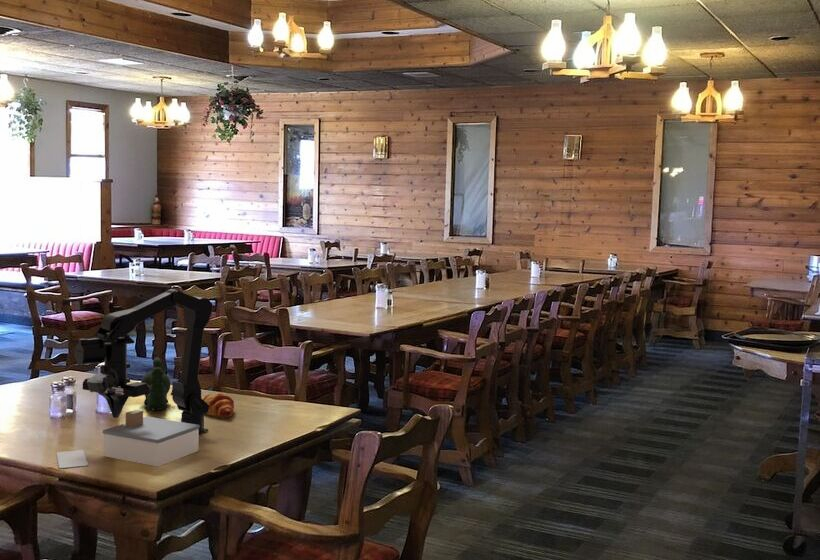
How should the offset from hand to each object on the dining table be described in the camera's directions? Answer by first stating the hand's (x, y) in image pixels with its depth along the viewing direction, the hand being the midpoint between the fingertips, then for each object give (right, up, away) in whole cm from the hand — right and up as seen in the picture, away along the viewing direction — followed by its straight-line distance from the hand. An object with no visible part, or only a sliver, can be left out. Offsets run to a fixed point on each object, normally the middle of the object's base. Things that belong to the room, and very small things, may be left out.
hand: (115, 417), depth 233 cm
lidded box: (+11, -9, -4) cm, 15 cm away
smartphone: (-7, -10, -11) cm, 16 cm away
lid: (+11, -3, -5) cm, 13 cm away
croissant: (+18, -5, +41) cm, 46 cm away
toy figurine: (-3, -4, +45) cm, 46 cm away
